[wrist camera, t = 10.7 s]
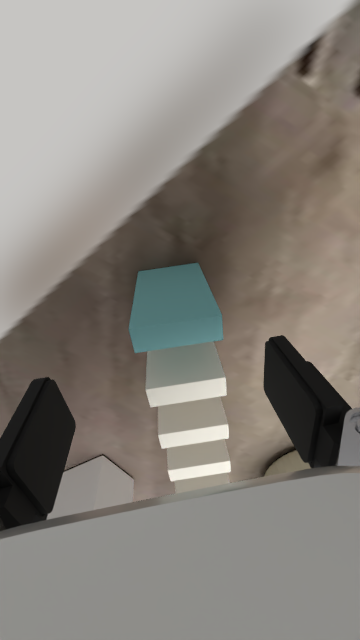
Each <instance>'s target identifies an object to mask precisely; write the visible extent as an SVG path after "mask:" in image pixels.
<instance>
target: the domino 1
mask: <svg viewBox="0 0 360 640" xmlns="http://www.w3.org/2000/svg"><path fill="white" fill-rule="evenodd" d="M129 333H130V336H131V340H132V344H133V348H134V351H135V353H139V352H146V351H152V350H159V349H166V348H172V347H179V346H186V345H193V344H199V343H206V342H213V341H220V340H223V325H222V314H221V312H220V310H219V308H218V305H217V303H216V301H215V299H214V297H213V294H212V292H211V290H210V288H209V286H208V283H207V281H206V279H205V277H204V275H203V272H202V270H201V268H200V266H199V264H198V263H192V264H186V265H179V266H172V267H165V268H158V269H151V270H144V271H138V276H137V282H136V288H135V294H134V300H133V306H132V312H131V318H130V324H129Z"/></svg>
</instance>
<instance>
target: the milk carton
mask: <svg viewBox="0 0 360 640" xmlns="http://www.w3.org/2000/svg"><path fill="white" fill-rule="evenodd" d="M133 489H134V479H132V478H131V477H130V476H129V475H127V474H126V473H125V472H124V471H122V470H121V469H120V468H119V467H117V466H116V465H115V464H113V463H112V462H111V461H110V460H108V459H107V458H106V457H104V456H100V457H97V458H95V459H93V460H91V461H88V462H86V463H84V464H81V465H79V466H77V467H74V468H72V469H70V470H68V471H65V472H63V475H62V479H61V482H60V486H59V489H58V493H57V497H56V500H55V504H54V507H53V510H52V512H51V513H49V514H48V516H47V519H46V520H48V519H53V518H57V517H62V516H67V515H72V514H77V513H82V512H87V511H92V510H96V509H101V508H106V507H111V506H116V505H121V504H126V503H131V502H133Z"/></svg>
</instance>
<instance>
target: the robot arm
mask: <svg viewBox="0 0 360 640" xmlns="http://www.w3.org/2000/svg"><path fill="white" fill-rule="evenodd" d="M264 391H265V393H266V395H267V397H268V399H269V401H270V403H271V404H272V406H273V408H274V410H275V412H276V413H277V415H278V417H279V419H280V421H281V423H282V424H283V426H284V428H285V430H286V432H287V433H288V435H289V437H290V439H291V441H292V443H293V444H294V446H295V448H296V450H297V452H298V453H299V455H300V457H301V459H302V460H303V462H304V463H309V465H310V467H311V469H305V470H299V471H293V472H287V473H281V474H276V475H270V476H265V477H259V478H254V479H249V480H244V481H238V482H233V483H228V484H223V485H218V486H212V487H207V488H202V489H197V490H192V491H187V492H182V493H177V494H171V495H166V496H161V497H156V498H151V499H146V500H141V501H136V502H131V503H126V504H121V505H116V506H111V507H106V508H101V509H96V510H92V511H87V512H82V513H77V514H72V515H67V516H62V517H57V518H53V519H48V520H46V519H47V516H48V514H49V513H51V512H52V510H53V507H54V504H55V500H56V497H57V493H58V489H59V486H60V482H61V479H62V475H63V471H64V468H65V464H66V461H67V457H68V453H69V450H70V446H71V443H72V439H73V435H74V432H75V427H76V425H75V420H74V418H73V416H72V414H71V412H70V410H69V408H68V406H67V404H66V402H65V400H64V398H63V396H62V394H61V392H60V390H59V388H58V386H57V384H56V382H55V381H54V380H51V379H50V378H49V377H45V378H40V379H34V380H33V381H32V382H31V384H30V386H29V388H28V389H27V391H26V393H25V395H24V397H23V398H22V400H21V402H20V404H19V406H18V407H17V409H16V411H15V413H14V415H13V417H12V418H11V420H10V422H9V424H8V426H7V427H6V429H5V431H4V433H3V435H2V436H1V438H0V640H360V408H354V409H352V408H351V407H350V406H349V405H348V404H347V403H346V401H345V400H344V399H343V398H342V397H341V396H340V395H339V393H338V392H337V391H336V390H335V389H334V388H333V387H332V386H331V384H330V383H329V382H328V381H327V380H326V379H325V378H324V377H323V375H322V374H321V373H320V372H319V371H318V370H317V369H316V367H315V366H314V365H313V364H312V363H311V362H308V361H305V359H304V358H303V357H302V356H301V355H300V354H299V353H298V351H297V350H296V349H295V348H294V347H293V346H292V344H291V343H290V342H289V341H288V340H287V339H286V337H285V336H283V335H281V336H276V337H270V338H269V341H267V342H266V343H265V364H264Z"/></svg>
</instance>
